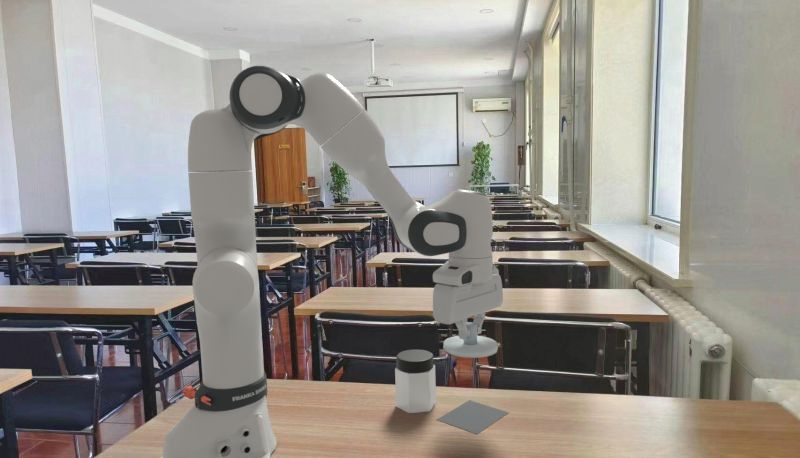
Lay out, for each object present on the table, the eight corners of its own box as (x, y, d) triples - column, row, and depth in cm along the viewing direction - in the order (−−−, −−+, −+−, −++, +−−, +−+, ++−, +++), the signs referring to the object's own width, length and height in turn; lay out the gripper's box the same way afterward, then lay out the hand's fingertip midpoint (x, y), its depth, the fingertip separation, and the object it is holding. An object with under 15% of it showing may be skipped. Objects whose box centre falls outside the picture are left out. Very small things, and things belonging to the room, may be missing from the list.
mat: (476, 438, 103) (476, 434, 103) (436, 423, 109) (436, 419, 109) (508, 416, 112) (508, 412, 111) (469, 403, 118) (469, 400, 118)
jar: (443, 408, 116) (442, 355, 115) (415, 420, 111) (414, 365, 110) (417, 396, 123) (415, 346, 122) (389, 406, 118) (387, 354, 117)
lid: (477, 361, 101) (477, 335, 101) (432, 349, 108) (432, 324, 108) (507, 347, 109) (507, 323, 109) (463, 337, 117) (463, 314, 116)
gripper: (485, 261, 117) (485, 322, 118) (427, 274, 102) (427, 344, 103) (510, 264, 113) (509, 327, 114) (453, 278, 98) (453, 351, 99)
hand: (470, 336), depth 109 cm, fingers closed on lid, 3 cm apart
